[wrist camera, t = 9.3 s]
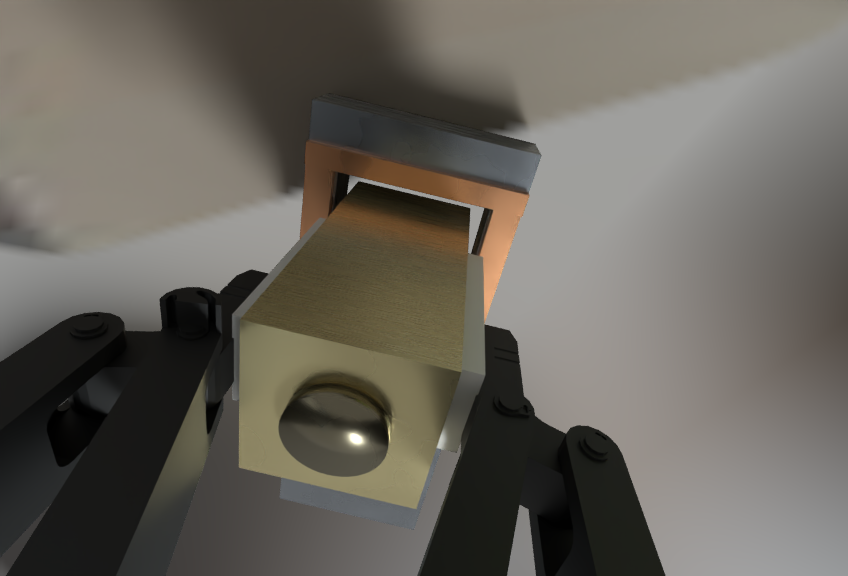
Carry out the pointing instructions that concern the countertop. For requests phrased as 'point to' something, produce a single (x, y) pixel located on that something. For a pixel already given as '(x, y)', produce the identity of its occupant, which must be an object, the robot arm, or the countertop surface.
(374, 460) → the brass block with knob
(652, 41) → the countertop surface
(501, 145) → the plate with square holes
